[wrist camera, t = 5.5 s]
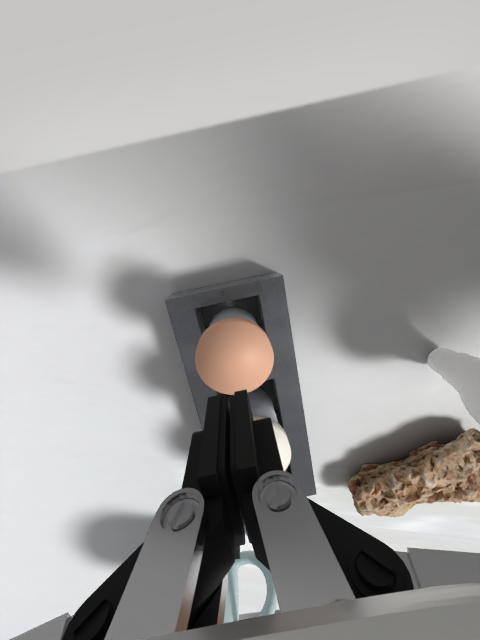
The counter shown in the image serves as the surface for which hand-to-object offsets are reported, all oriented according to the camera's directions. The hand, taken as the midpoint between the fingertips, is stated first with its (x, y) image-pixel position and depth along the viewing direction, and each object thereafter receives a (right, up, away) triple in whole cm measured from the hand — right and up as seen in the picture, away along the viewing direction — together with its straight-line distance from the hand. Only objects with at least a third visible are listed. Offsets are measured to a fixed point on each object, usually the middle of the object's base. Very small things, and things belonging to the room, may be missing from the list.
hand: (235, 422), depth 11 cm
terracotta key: (0, +3, +12) cm, 12 cm away
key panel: (+1, -3, +17) cm, 17 cm away
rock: (+21, -14, +21) cm, 33 cm away
